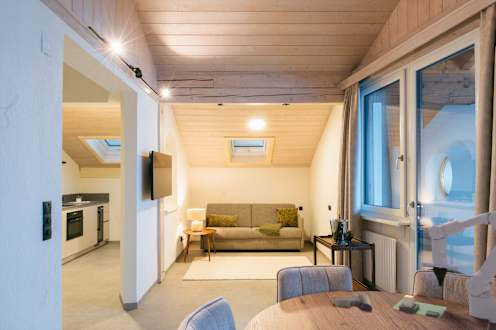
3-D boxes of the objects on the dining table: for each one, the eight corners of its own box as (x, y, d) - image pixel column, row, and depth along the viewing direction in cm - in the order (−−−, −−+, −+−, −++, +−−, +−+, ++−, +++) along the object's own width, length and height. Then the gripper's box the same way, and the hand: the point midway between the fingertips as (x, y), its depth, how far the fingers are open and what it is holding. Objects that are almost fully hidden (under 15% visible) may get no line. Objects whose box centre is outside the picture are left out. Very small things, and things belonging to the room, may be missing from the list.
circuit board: (447, 309, 145) (446, 305, 145) (440, 320, 132) (439, 315, 133) (402, 301, 156) (401, 297, 156) (391, 310, 144) (391, 306, 144)
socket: (419, 308, 144) (419, 304, 144) (415, 312, 138) (414, 309, 138) (404, 305, 148) (403, 301, 148) (399, 309, 142) (399, 306, 142)
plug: (414, 308, 144) (413, 295, 144) (411, 311, 140) (411, 298, 141) (406, 306, 146) (406, 294, 146) (403, 309, 142) (403, 296, 143)
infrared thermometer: (334, 305, 155) (368, 304, 153) (336, 315, 143) (374, 314, 141) (333, 295, 155) (367, 294, 153) (335, 303, 143) (373, 302, 141)
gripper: (419, 253, 150) (420, 284, 149) (457, 256, 141) (459, 290, 140) (422, 250, 156) (424, 281, 155) (459, 254, 147) (461, 286, 146)
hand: (441, 285), depth 148 cm, fingers closed
